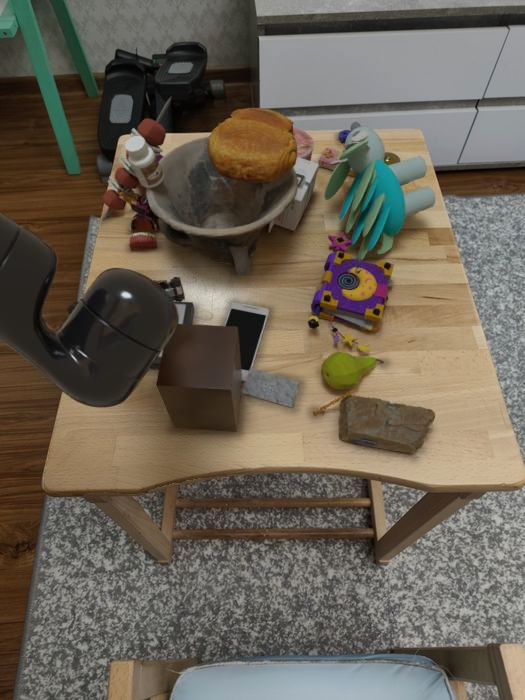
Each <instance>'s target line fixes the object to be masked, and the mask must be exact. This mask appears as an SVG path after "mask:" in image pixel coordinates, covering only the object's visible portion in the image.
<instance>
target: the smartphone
mask: <svg viewBox="0 0 525 700" xmlns="http://www.w3.org/2000/svg"><path fill="white" fill-rule="evenodd" d="M269 315H270V308H266V307H262V306H258V305H257V306H256V305H252V304H248V303H246V304H245V303H241V302H237V301H232V302H231V305H230V307H229V310H228V313H227V316H226V317H225V322H224V325H223V326H234V327H238V335H239V347H240V358H241V370H242V382H241V383H245V381H247V380H248V379H247V375H248V372H249V369H250V368H253V369H254V365H255V361H256V359H257V355H258V352H259V348H260V345H261V341H262V338H263V335H264V331H265V327H266V325H267V321H268V318H269Z"/></svg>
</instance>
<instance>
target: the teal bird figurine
mask: <svg viewBox="0 0 525 700" xmlns="http://www.w3.org/2000/svg"><path fill="white" fill-rule="evenodd" d="M350 131H351V132H350V133H349V135H348V136H347V138H346V141H345V142H344V147H343V150H342V152H343V154H342V155H341V156H340V158H339V160H335V161H333V162H331V163H330V164H329V165H337V167H336V168H335V170H332V173H331V175H330V177H329V178H328V182H327V184H326V187H325V190H324V199H325V200H326V201H329V200H331V199H332V198H333V197H334V196H335V195H336V194H337V193H338V192H339V190H340V189H341V187H342V186H343V184H344V183H345V181H346V180H347V178H348V176H349V175H348V173H349V171H350V169H352V170H353V171H354V172H355V173H357V175H356V177H354V179H353V180H352V182H351V184H350V187H348V191H347V193H346V195H345V197H344V200H343V203H342V207H341V210H340V213H339V221H342V220H343V219H344V217H345V216H346V214H347V212H348V210H349V208H350V206H351V209H350V213H349V214H348V215H349V216H348V218H347V222H346V225H345V234H348V233H349V232H350V231H351V229H352V227H353V225H354V224H355V226H354V227H353V228H354V229H353V231H352V235H351V239H350V240H352V243H351V245H350V246H351V247H352V246H354V245H355V243H356V242H357V240H358V239H359V237H360V235H361V233H362V237H363V239H362V242H361V244H360V248H359V251H358V256H357V260H360V259H362V261H363V260H364V259H365V256H366V255H367V253H368V252H370V251H372V250H373V249H374V247H375V245H376V244H377V242H378V241H379V238H380V239H381V242H380V246H379V248H378V250H376V251H375V254H376V255H382V254H385V253H386V252H388V251H389V250H390V249H391V248H392V247H393V244H394V243H393V242H394V236H396V235H397V234H398V233H400V231H401V229H402V228H403V227H404V223H405V218H408V217H410V216H412V215H413V216H414V215H416V214H418V213H419V212H422V211H425V210H427V209H431V208H433V207H434V206H435V204H436V194H435V192H434V190H433V189H432V188H431V187H430V186H424V187H421V188H418V189H415V190H412V191H409V192H406V193H404V192H403V189H402V186H404V185H408V184H410V183H411V182H413V181H418V180H420V179H423V178H425V177H426V175H427V173H428V171H427V170H428V166H427V162H426V160H425V158H424V157H423V156H419V155H418V156H415V157H412V158H408V159H405V160H403V161H402V160H400V161H401V162H398V163H395V164H392V165H388V166H387V165H386V164H385V163H384V157H385V152H386V151H385V145H384V142H383V140H382V138H381V137H380V135H379V134H378V133H377V132H376V131H375V130H374V129H372V128H370V127H369V126H368V127H367V126H362V125H361V123H360V122H359V121H354V122H352V123H351V125H350ZM351 204H352V205H351ZM358 215H359V216H358ZM357 217H358V218H357ZM356 219H357V221H356ZM355 221H356V222H355ZM360 261H361V260H360Z"/></svg>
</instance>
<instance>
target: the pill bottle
mask: <svg viewBox="0 0 525 700" xmlns="http://www.w3.org/2000/svg"><path fill="white" fill-rule="evenodd" d="M124 149H125V152H126V151H127V153H128V155H129V162H130V164H131V166H132V168H133V170H134V172H135V174H136V176H137V178H138V179H139V181H140V183H141V184H140V186H142V187H143V186H144V187H147V188H152V187H155V186H158V185H159V184H160V183H161V182H162V181H163V178H164V173H163V171H162V169H161V166H160V164H159V162H158V160H157V158H156V155H155V153H154V151H153V150H152V149H151V148H150V147H148V145H147V143H146V141H145V139H144V138H143V137H141V136H134V137H131V136H130V137H129V139H127V140H126V142H125V143H124ZM144 187H143V188H144Z"/></svg>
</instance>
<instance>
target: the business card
mask: <svg viewBox="0 0 525 700" xmlns="http://www.w3.org/2000/svg"><path fill="white" fill-rule="evenodd" d="M247 379H248V380H247V381H245V382H243V387H242V388H241V393H240V394H244V395H247V396H251V397H254V398H258V399H262V400H265V401H268V402H271V403H274V404H275V403H276V404H279V405H283V406H285V407H289V408H294V405H295V401H296V399H297V396H298V392H299V389H300V386H301V381H297V380H293V379H290V378H287V377H282V376H279V375H277V374H273V373H269V372H266V371H263V370H261V369H260V370H259V369H256V368H254V367H253V368H250V369H249V372H248V375H247Z"/></svg>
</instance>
